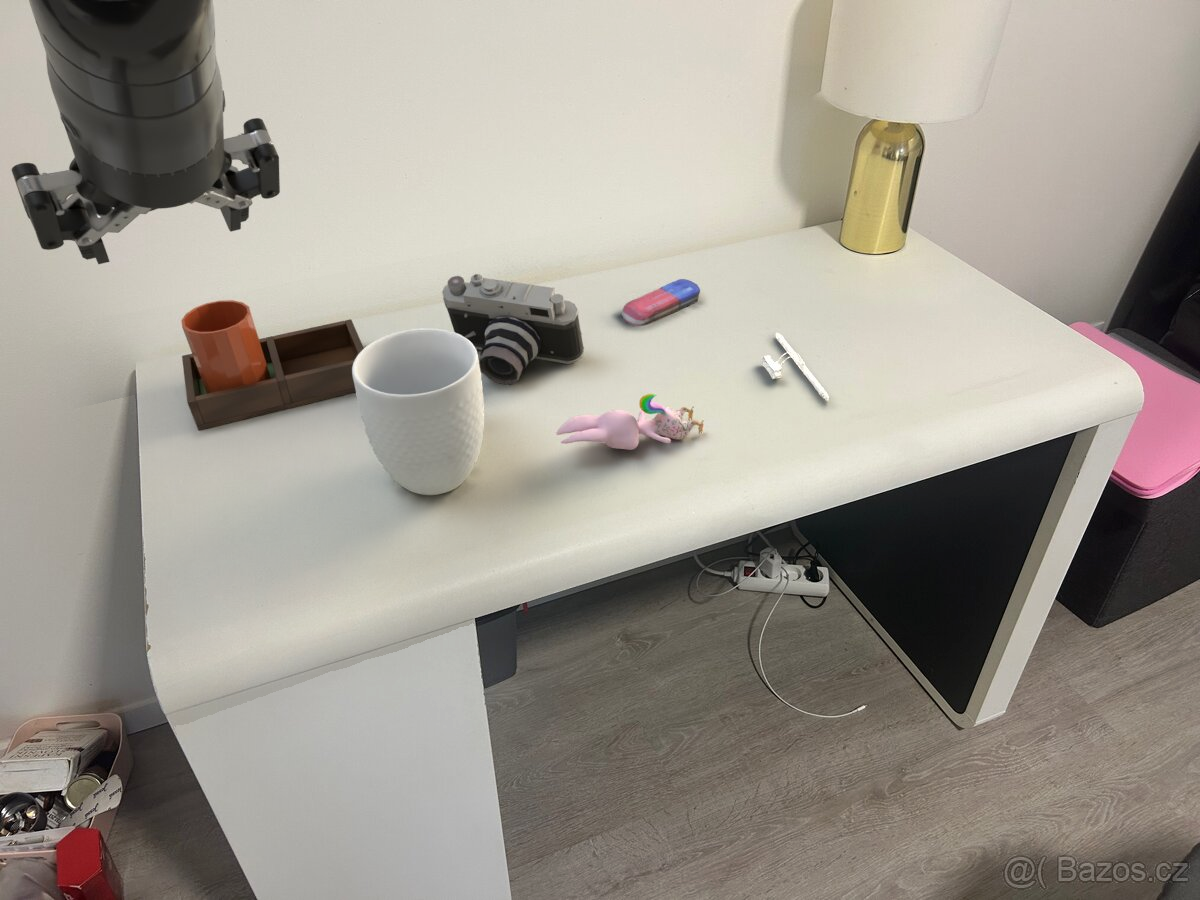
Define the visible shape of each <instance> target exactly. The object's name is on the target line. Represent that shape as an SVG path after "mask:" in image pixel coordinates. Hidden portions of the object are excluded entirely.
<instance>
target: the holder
mask: <svg viewBox="0 0 1200 900" xmlns="http://www.w3.org/2000/svg"><path fill="white" fill-rule="evenodd" d="M259 341H260V344H261V347H262V350H263V354H264V357H265V360H266V363H267V367H268V370H269V373H270V377H271V379H269V380H264V381H260V382H256V383H252V384H247V385H243V386H239V387H234V388H230V389H226V390H221V391H217V392H213V393H208V394H207V392H206V390H205V387H204V384H203V382H202V379H201V376H200V373H199V371H198V368H197V365H196V363H195V360H194V357H193V355H192V353H188V354H183V355H181V360H182V368H183V378H184V385H185V393H186V394H185V395H186V402H187V405H188V408H189V410H190V414H191V415H192V418H193V420H194V424H195V426H196V428H197V430H198V431H202V430H206V429H210V428H214V427H218V426H222V425H225V424H226V425H227V424H230V423H234V422H238V421H241V420H246V419H250V418H255V417H259V416H263V415H267V414H271V413H275V412H280V411H283V410H287V409H291V408H295V407H296V408H297V407H301V406H304V405H308V404H312V403H316V402H320V401H324V400H325V401H326V400H329V399H333V398H336V397H337V398H338V397H342V396H345V395H349V394H353V393H356V389H355V385H354V380H353V375H352V367H353V363H354V361H355V359H356V357H357V355H358V354H359V353H360V352H361V351H362V350H363V349H364V348H365V347H364V345H363V342H362V340H361V339H360V337H359V334H358V331H357V329H356V327H355V324H354V322H353V320H352V319H351V318H350V319H345V320H340V321H336V322H332V323H328V324H327V323H326V324H322V325H317V326H312V327H309V328H303V329H299V330H294V331H290V332H285V333H280V334H276V335H273V336H272V335H271V336H267V337H263V338H262V337H261V338H259Z"/></svg>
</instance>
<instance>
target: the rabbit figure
mask: <svg viewBox="0 0 1200 900" xmlns="http://www.w3.org/2000/svg"><path fill="white" fill-rule="evenodd" d="M656 396H657V394H653V393H647V394H645V395H642V396H641V398H640V399H639V408H640V411H639V413H638V417H637V418H636V417H635V415H634V414H632V413H630V412H629V411H626V410H623V409H615V410H609V411H606V412H604V413H602V414H599V415H594V414H581V415H576V416H572V417H570V418H569V419H567V420H566V421H565V422H563V424H562V425H560V427H559V428H558V429H557V431H556V432H555V433H556V436H560V435H565V434H571V435H569V436H567V437H566V438H563V439H562V440H560V444H564V445H566V444H571V443H579V442H592V443H601V444H605V445H606V446H607V447H609V448H611V449H618V450H619V449H620V450H621V449H622V450H631V451H632V450H635V449H637V447H638V445H639V444H640V435H644V436H647V437H649V438H651V439H653V440H656V441H658V442H661V443H664V444H671V441H672V440H671V439H673V440H677V441H678V440H680V441H681V440H683V439H686V438H687V437H688V436H689V434H690V432H691V430H692V429H693V427H694V426H698V427H697V430H698V435H699V436H701V435H703V434H704V433H703V432H704V423H703V422H704V421H705V420H706V419H702V420H701V422H698V421H697V420H693V415H694V410H693V409H694V407H695V406H692V407H691V408H690V409H689V408H688V407H686V406H682V407H681V408H679V409H674V408H672V407H664V406H663V405H662V404H660V402H659V403H658V402H655V401H652V400H653V399H654V398H655V397H656ZM686 412H687V413H688V414H687V417H688V418H687V419H688V421H687V420H683V418H684V415H685V413H686ZM646 414H648V415H655V416H654V417H653V418H651V419H648V418H647V419H646V417H645V416H646ZM572 433H573V434H572Z"/></svg>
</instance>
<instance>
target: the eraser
mask: <svg viewBox="0 0 1200 900" xmlns="http://www.w3.org/2000/svg"><path fill="white" fill-rule="evenodd" d="M700 293H701V288H700V287H699V285H698V284H697V283H695V282H693V281H692V280H689V279H686V278H680V279H676V280H674V281H672V282H670V283H669V282H668V283H667V284H665V285H663V286H661V287H659V288H657V289H655V290H653V291H651V292H648V293H646V294H644V295H642V296H640V297H637V298H635V299H633V300H630V301H628V302H626V303H625V304H624V306H623V308H622V311H621V315H622V318H623V320H624V321H625V323H628V324H629V325H631V326H635V327H642V326H647V325H649V324H652V323H654V322H656V321H659V320H661V319H663V318H666V317H668V316H670V315H672V314H675V313H677V312H678V311H680V310H682V309H685V308H686V307H688V306H691V305H692V304H695V303H697V302H698V299H699V296H700Z"/></svg>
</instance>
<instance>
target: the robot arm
mask: <svg viewBox="0 0 1200 900" xmlns="http://www.w3.org/2000/svg"><path fill="white" fill-rule="evenodd" d="M28 3H29V7H30V9H31V12H32V16H33V18H34V21H35V24H36V27H37V30H38V33H39V36H40V39H41V41H42V45H43V48H44V51H45V60H46V61H45V62H46V71H47V76H48V80H49V85H50V88H51V91H52V94H53V97H54V100H55V103H56V105H57V109H58V112H59V116H60V120H61V122H62V124H63V126H64V130H65V132H66V135H67V138H68V142H69V144H70V147H71V150H72V153H73V156H74V157H73V159H72V160H71V161H70V164H69V166H68V169H66V170H60V171H54V172H49V173H48V172H41V173H40V170H39V169H38V167H37V165H36V164H35V163H33V162H21V163H18V164H16V165H14V166H12V167H11V173H12V176H13V178H14V182H15V185H16V188H17V191H18V194H19V197H20V199H21V202H22V205H23V208H24V211H25V213H26V216H27V219H29V220H30V222H31V225H32V227H33V229H34V232H35V235H36V237H37V241H38V244H39V245H40V247H41V249H42V250H46V251H51V250H56V249H59V248H61V247H63V246H64V245H65V242H64V241H72V242H75V244H76V246H77V248H78V250H79V252H80V254H81V257H82V258H83V259H85V260H87V261H88V260H92V259H95V260H96V262H97V265H102V264H106V263H110V258H109V255H108V252H107V250H106V247H105V243H104V241H103V239H102V237H104V236H105V235H107V234H108V233H112V234H119V233H120V232H121V231H123V230H124V229H125V228H126V227H127V226H128V225H130V223H132V222H133V221H134V220H135V219H136V218H138V216H140V215H146V214H148V213H150V212H153V211H156V210H158V209H159V210H160V209H171V208H177V207H180V206H184V205H187V204H191V205H192V204H194V203H198V204H201V205H204V206H207V207H209V208H214V209H216V210H220V212H221V215H222V217H223V219H224V222H225V224H226V226H227V228H228V230H229V232H230V233H231V232H235V231H239V230H241V229H242V223H243V222H246V221H247V220H248V219H249V218H250V207H251V206H252V205H253V200H252V199H253V198H255V197H258V196H260V197H261V198H262V199H265V200H268V199H269V200H270V199H273V198H275V197H277V196H278V195H279V194H280V193H281V184H280V182H281V181H280V156H279V154H278V152H277V149H276V147H275V145H274V143H273V142H274V141H273V140H272V138H271V135H270V133H269V131H268V129H267V127H266V124H265V122H264V120H263V119H262V118H259V117H256V118H255V117H254V118H250V119H248V120H246V121H245V122H244V123H243V126H242V127H243V132H241V133H238V134H237V135H235V136H232V137H227V138H225V134H224V130H225V128H224V112H225V109H226V97H225V91H224V90H223V81H222V75H221V70H220V66H219V63H218V60H217V49H216V46H217V45H216V18H215V8H214V0H28ZM236 160H237V161H240V162H241V164H243V165H247V167H246V168H244V169H241V170H239V168H238V167H236V166H234V165H233V161H236Z"/></svg>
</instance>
